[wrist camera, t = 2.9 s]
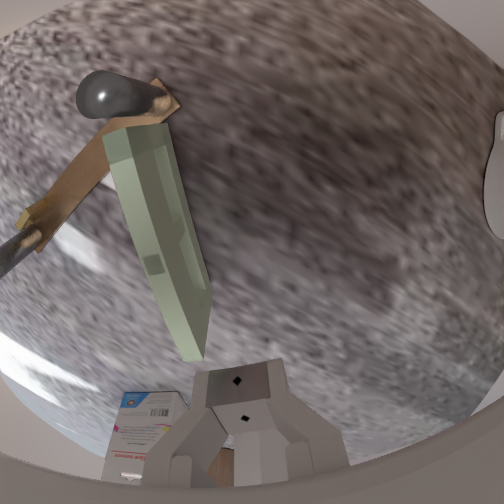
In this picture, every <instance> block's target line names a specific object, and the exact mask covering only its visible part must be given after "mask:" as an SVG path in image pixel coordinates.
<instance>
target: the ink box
mask: <svg viewBox="0 0 504 504" xmlns="http://www.w3.org/2000/svg"><path fill="white" fill-rule="evenodd" d="M186 410H189V409H188V407H187V406H186V404H185V402H184V401H183V399H182V398H181V396H180V395H179V393H178V392H154V393H125V394H124V397H123V400H122V403H121V406H120V409H119V412H118V415H117V419H116V422H115V425H114V429H113V432H112V436H111V439H110V443H109V446H108V450H107V453H106V457H105V465H104V469H103V473H102V478H101V480H102V481H107V482H113V483H120V484H128V485H138V486H140V485H141V479H140V480H138V479H134V480H132V481H129V480H128V479H127V478H123V477H121V474H122V475H124V476H131V477H140V478H142V473H143V468H144V462H145V457H146V454H147V453H148V452H149V451H150V450H151V448H152V447H153V446H154V445H155V444H156V443H157V442H158V441H159V440H160V439H161V437H162V436H163V435H164V434H165V433H166V432H167V431H168V430H169V429H170V427H171V426H172V425H173V424H174V423H175V422H176V421H177V420H178V418H179V417H180V416H181V415H182V414H183V413H184V412H185V411H186Z"/></svg>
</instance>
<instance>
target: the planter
mask: <svg viewBox="0 0 504 504" xmlns="http://www.w3.org/2000/svg"><path fill="white" fill-rule="evenodd" d="M206 473H207V474H208V475H209V476H210V477H211V478H212V479H213V480H214V481H215V482H216V483H217V484H218V488H222V487H234V450H230V449H225V448H221V449H220V451H219V452H218V454H217V456H216V457H215V459H214V460H213V462H212V464H211V465H210V467H209V468H208V470H207V471H206Z"/></svg>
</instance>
